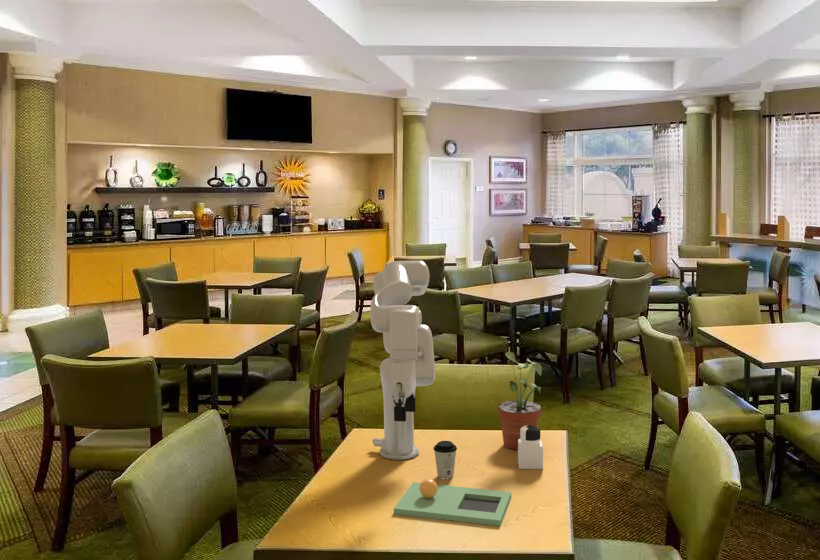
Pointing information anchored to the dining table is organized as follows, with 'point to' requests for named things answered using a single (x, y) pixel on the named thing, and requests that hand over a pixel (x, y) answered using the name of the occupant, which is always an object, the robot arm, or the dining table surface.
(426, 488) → the orange ball
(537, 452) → the medicine bottle
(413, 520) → the dining table surface
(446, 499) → the mat
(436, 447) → the coffee cup
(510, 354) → the potted plant
